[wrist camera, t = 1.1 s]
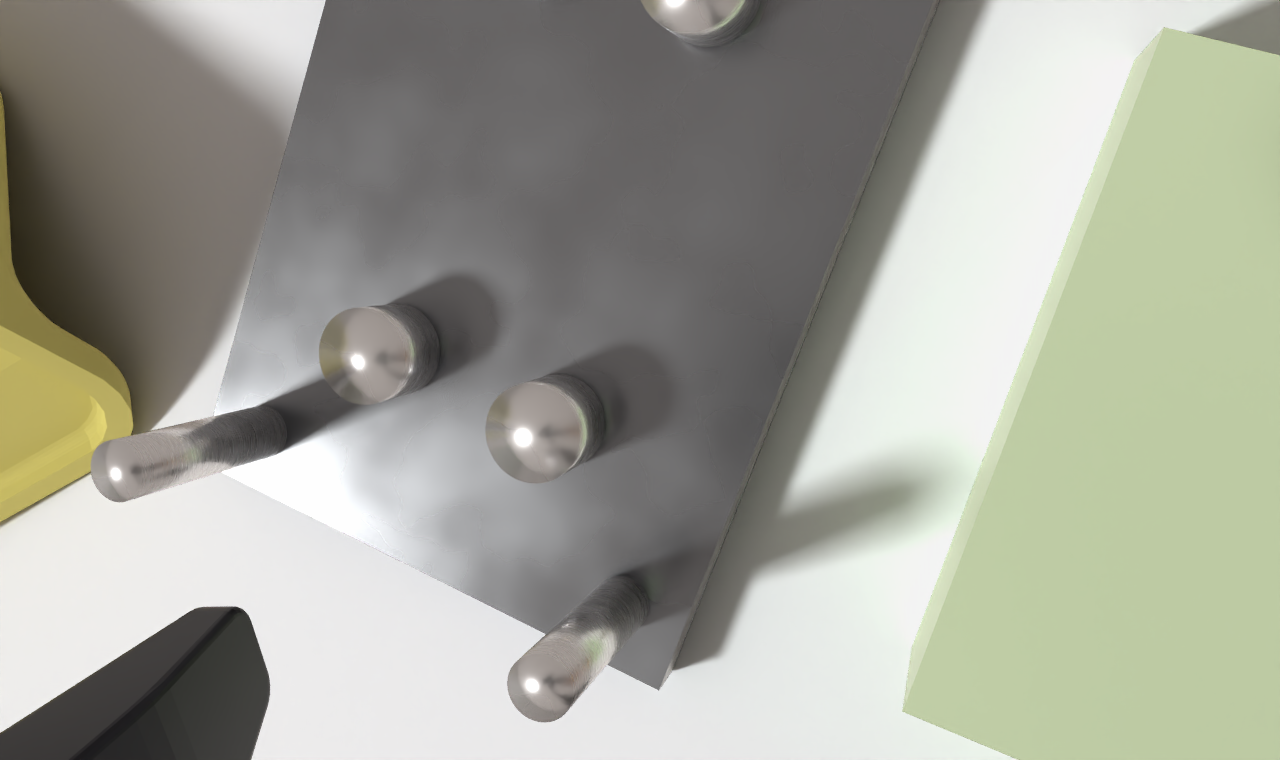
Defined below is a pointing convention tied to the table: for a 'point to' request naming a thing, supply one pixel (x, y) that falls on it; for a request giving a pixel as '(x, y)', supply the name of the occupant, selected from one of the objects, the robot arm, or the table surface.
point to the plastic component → (47, 389)
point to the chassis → (545, 296)
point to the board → (1136, 453)
